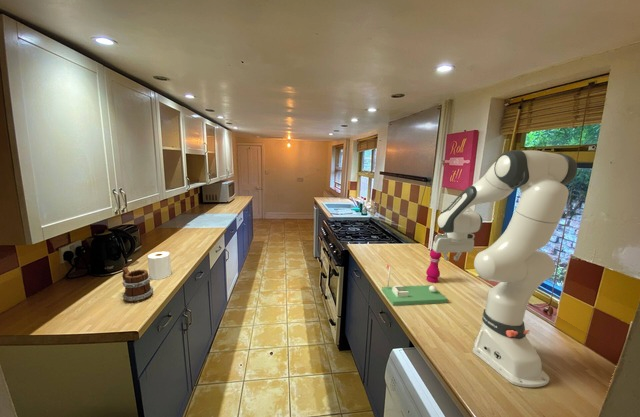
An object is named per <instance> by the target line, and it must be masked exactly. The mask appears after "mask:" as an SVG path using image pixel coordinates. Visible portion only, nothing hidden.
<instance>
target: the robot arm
mask: <svg viewBox="0 0 640 417" xmlns="http://www.w3.org/2000/svg"><path fill="white" fill-rule="evenodd" d="M577 172H578V163H577V161H576V160H575V159H574V158H573V157H571V156H569V155H567V154H564V153H561V152H560V153H554V152H547V151H541V150H529V149H528V150H520V149H513V150H507V151H504V152H502V153H501V154H500V155H499V156H498V158H497V159H496V161H495V162H494V163H492V165H491V166H490V167H489V168H488V170H487V171H486V172H485V174H484V175H483V176H482V177H480V179H478V180H477V181H476V182H475V183H473V184H472V185H471V186H468V187H466V188H465V189H464V190H463V191H462V192H461V193H460V194H459V195H458V196H457V197H456V198H455V199H454V200H453V201H452V202H450V204H449V206H448V207H447V208H446V209H444V210H442V212H440V214H438V216H437V219H436V223H437V227H438V228H439V229H440V231H441V232H443V233H437V234H436V235H435V236H434V238H433V239H434V240H433V243H432V249H431V250H433V251H435V252H437V253H441V254H442V255H443V260H444V261H449V259H450V257H449V256H448V255H449V254H448V253H456V255H453V260H454V261H459V259H460V257H461V255H462V253H472V252H473V251H474V248H475V240H474V239H475V237H476V236H475V234H474V233H477V232H479V231H480V230H481V229H482V226H483V217H482V216H481V215H480V214H479V213H478V212H476V211H475V210H473V209H472V207H473V206H476V205H479V204H480V205H481V204H486V203H494V202H499V201H503V200H504V199H505V198H507V197H509V195H511V194H512V192H514V191H515V190H516V189H518V188H519V190H520V192H521V194H520V199H519V200H518V203H517V205H516V208H515V210H514V212H513V214H512V217H511V219H510V220H509V223H508V225H507V227H506V229H505V231H503V233H502V234H501V235H500V236H499V237H498V239H497V240H495V241H494V242H493V243H492V244H491V245H490V246H488V247H487V248H485V249H484V250H482V251H479V252H478V253H477V254H476V255H475V258H474V260H473V267H474V270H475V272H476V274H477V275H478V276H479V277H480V278H481V279H482V280H484V281H490V282H495V283H497V284H496V285H495V286H493V287H491V289H489V291H488V294H487V299H486V303H485V308H484V309H483V313H482V320H481V321H482V323H481V326H480V328H479V332H478V333H477V337H476V338H475V339H474V340H473V344H474V345H473V348H472V353H473V354H474V355H476V356H477V357H478V358H479V359H480V360H482V361H483V362H484V363H486V364H487V365H488V366H489V367H491V368H492V369H493V370H494V371H496V372H497V373H498V374H499V375H501V376H502V377H503V378H504V379H506V381H508V382H510V384H512V385H515V386H517V387H523V388H539V387H544V386H546V385H548V384H549V383H550V376H549V375H548V374H547V373H546V372H545V371H544V370H543V369H542V366H543V364H542V359H541V357H540V355H539V354H538V352H537V349H536V348H535V347H534V346H533V345H532V343H531V342H530V340H529V338H528V337H527V334H530V332H531V331H530V330H529V329H528V330H526V326H525V322H524V320H525V319H524V318H525V313H526V310H527V307H528V303H529V301H530V300H531V298H532V296H533V294H534V293H535V292H536V290H538V288H539V287H540V286H541V285H542V284H543V283H544V282H546V281H547V280H548V279H551V278H552V276H553V275H554V274H555V272H556V264H555V262H554V260H553V258H552V257H551V256H550V255H549V254H548V253H546V252H545V251H544V252H543V251H541V250H540V249H542V248H544V247H545V246H546V245H547V244H548V243H549V242H550V240H551V238H552V236H553V235H554V233H555V231H556V229H557V227H558V226H559V223H560V221H561V219H562V217H563V215H564V213H565V208H566V206H567V203H568V199H569V193H570V192H569V189H568V188H567V186H566V185H567V184H569V183H571V182H572V181H573V180H574V178H575V177H576V176H577ZM539 250H540V251H539Z"/></svg>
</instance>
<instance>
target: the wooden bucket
mask: <svg viewBox="0 0 640 417" xmlns="http://www.w3.org/2000/svg"><path fill="white" fill-rule="evenodd" d="M121 270H122V286H123V287H124V292H123V294H122V297H123V300H124V301H125V302H126V303H133V304H134V303H139V302H140V303H141V302H143V301H145V300H147V299H150V297H151V296H152V295H153V293H154V287H152V286H151V283H150V282H151V280H152V279H151V278H150V276H149V270H147V269H134V270H131V271H130V270H129V269H128V268H127V267H122V268H121Z"/></svg>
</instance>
